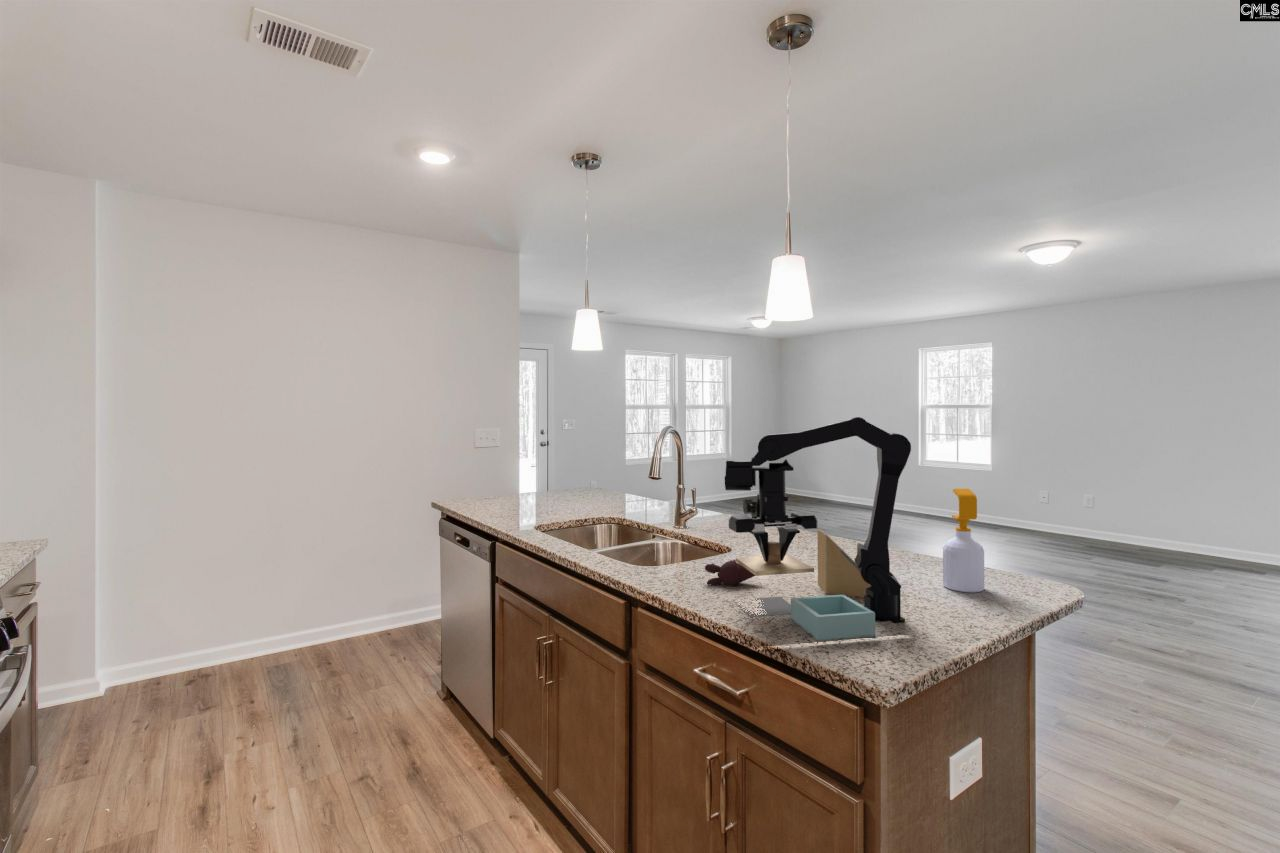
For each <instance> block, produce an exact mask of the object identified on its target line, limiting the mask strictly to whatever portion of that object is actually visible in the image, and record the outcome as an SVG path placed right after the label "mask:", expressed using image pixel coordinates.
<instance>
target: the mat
mask: <svg viewBox="0 0 1280 853" xmlns="http://www.w3.org/2000/svg"><path fill="white" fill-rule="evenodd" d="M759 599H760V600H761V602H762V603H761V604H762V606H763V605H764V606H763V607H762V606H761V607H760V608H762V609H765V611H766V612H767V614H766V615H765V614H763V615H762V614H761V615H758V613H757V615H758V616H759V617H769V616H770V617H771V615H772V616H783V615H784V616H785V614H786V615H791V603H789V602H788V601H787V600H785V599H784V598H782V596H770V597H769V596H768V597H757V600H759ZM755 600H756V599H755ZM757 600H756V601H757ZM762 600H763V601H762ZM763 602H764V603H763ZM758 604H760V602H759V603H758ZM740 605H741V604H740ZM740 605H738V606H739V607H740V608H742V607H741V606H740ZM738 606H737V607H738ZM759 606H760V605H759ZM759 606H758V607H757V608H759ZM739 607H738V608H739ZM745 608H746V607H745ZM745 608H743V609H745ZM755 608H756V607H755ZM743 609H741V611H743ZM745 610H746V609H745ZM745 610H744V611H743V613H745V614H746V616H748V617H749V618H755V617H756V616H757V615H756V614H755V613H754V612H753V613H754V614H751V615H749V614H750V613H751V612H750V611H748V610H747V611H748V612H745ZM757 611H758V610H757ZM760 611H761V610H760ZM762 611H764V610H762ZM762 611H761V612H762ZM765 611H764V612H765ZM749 612H750V613H749ZM761 612H760V613H761ZM764 612H763V613H764ZM766 612H765V613H766ZM760 613H759V614H760ZM754 615H755V616H754Z"/></svg>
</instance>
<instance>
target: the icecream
mask: <svg viewBox="0 0 1280 853" xmlns="http://www.w3.org/2000/svg"><path fill="white" fill-rule="evenodd" d="M704 570H705V571H706V572H707V573H709V574H716V573H717V577H713V578H712V577H711V578H710V579H708V580H707V581H706V585H707V584H711V585H710V586H718V585H717V584H720V585H721V584H722V583H723V584H724V585H727V586H729V585H731V586H732V587H735V585H736V586H737V585H738V586H737V587H739V586H740V584H741V583H742V582H745V581H747V580H749V579H751V578H754V577H756V576H755V575H754V574H753V573H751V572H750V571H749V570H747V569H746V568H744V567H743V566H742V565H740V564H739V563H738V562H736V558H735V559H733V560H728V561H726V562H725V563H723V564H722V565H721V566H719V565H717V564H715V563H708V564H706V565H705V566H704ZM731 586H730V587H731Z"/></svg>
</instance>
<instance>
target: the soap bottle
mask: <svg viewBox="0 0 1280 853" xmlns="http://www.w3.org/2000/svg"><path fill="white" fill-rule="evenodd" d="M952 492H953V493H954V494H955V495H956V496H957V498H958V514H953V515H951V518H954V519H956V522H957V523H959V524H958V525H959V526H958V527H957V526H956V527H955V536H953V537H952V538H950V539H948V540H947V541H946V542H945V543H944V544H943V546H942V585H943V587H945V588H946V589H949V590H951V591H956V592H961V593H969V594H970V593H972V594H973V593H979V592H983V591H984V590H985V550H984V547H983V545H981V544H980V543H979V541H976V540H974V539H973V538H972V532H971V531H972V529H971V528H970V527H968V523H970V520H977V518H978V499H977V496H976V494H975V493H974V492H973V491H972V490H971V489H969V488H953V489H952Z"/></svg>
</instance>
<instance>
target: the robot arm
mask: <svg viewBox="0 0 1280 853" xmlns="http://www.w3.org/2000/svg"><path fill="white" fill-rule="evenodd" d="M852 437H858V438H860V439H861V440H863V441H864V442H866V443H868V444H869V445H871V446H873V447H875V448H876V461H877V471H878V473H877V475H878V476H877V481H876V487H875V493H874V498H873V505H872V512H871V518H870V523H869V528H868V534H867V538H866V540H865V542H864V543H863V544H862V543H860V542H857V545H856V546H857V548H856V549H857V550H856V552H857V553H856V556H855V558H854V559H853V560H854V561H855V563H856V565H857V567H858V570H859V572H860V574H861V576H862V578H863V579H864V581H865V582H867V583H868V584H870V585H871V586H870V587H869V588H866V595H864V597H863V606H864V607H866V608H868V609H870V610H871V611H873V612H875V622H879V623H880V622H881V623H883V622H891V623H901V622H902V623H903V622H906V618H905V617H903V616H901V603H902V602H901V601H902V600H901V597H902V596H901V589H902V585H901V584H900V582H899V581H898V579H897V578H896V577H895V575H894V574H893V573H892V572H891V568H890V567H891V566H890V564H891V563H890V552H889V539H890V538H889V537H890V533H891V527H892V520H893V515H894V508H895V503H896V497H897V492H898V485H899V479H900V477H901V474H902V473H903V471H904V469H905V467H906V465H907V462H908V459H909V458H910V455H911V451H912V445H911V442H910V440H909V438H907V437H906V436H905V435H903V434H899V433H896V432H887V431H886V430H884V429H881V428H880V427H877V426H876V425H874V424H872V423H871V422H868V421H866V419H865V418H863V417H860V416H855V417H851V418H849V419H847V420H842V421H839V422H834V423H830V424H826V425H823V426H819V427H814V428H809V429H805V430H802V431H794V432H783V433H781V432H780V433H779V432H778V433H770V434H766V435H764V436H763V437H762V438H761V439H760V440H759V442H758V444H757V452H756V454H755V455H754V456H752V457H751V460H735V459H729V460H728V459H727V460H726V462H725V475H724V488H725V491H739V492H741V491H747V492H748V491H752V488H753V487H757V472H758V493H757V494H756V501H754V500H753V498H747V499H743V500H742V509H743V513H744V515H731V516H730V517H729V519H728V529H729V530H731V531H733V532H735V533H739V534H740V533H749V534H751V535H753V537H754V538H755V541H756V542H757V545H758V548H759V550H760V552H761V553H760V554H761V556H763V559H764V561H765V562H768V542H769V532H767V531H766V530H765V528H767V527H769V528H770V527H777V531H778V534H779V536H778V537H779V538H778V542H780V547H781V561H783V559H784V557H785V555H787V552H788V550H789V547H790V545H791V543H792V542H793V539H794V538H795V537H796V535H797V534H801V530H800V529H798V526H801V528H803V529H805V530H809V529H812V530H813V529H818V519H817V518H818V517H816V515H815V514H811V513H809V512H803V511H801V512H791V514H790V515H788V514H787V506H786V502H788V501H789V496H787V495H786V472H793V471H794V465H792V464H790V462H789V461H788V459H787V458H786V459H784V460H783V461H782V462H774V461H778V460H780V459H782V458H784V457H787V456H789V455H791V454H793V453H795V452H798V451H800V450H802V449H807V448H811V447H814V446H818V445H823V444H827V443H830V442H831V443H832V442H836V441H840V440H844V439H848V438H852ZM766 462H769V463H768V466H767V467H766V466H765V467H764V466H762V467H761V465H763V464H765V463H766ZM748 515H750V516H751V517H750V516H748Z"/></svg>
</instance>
